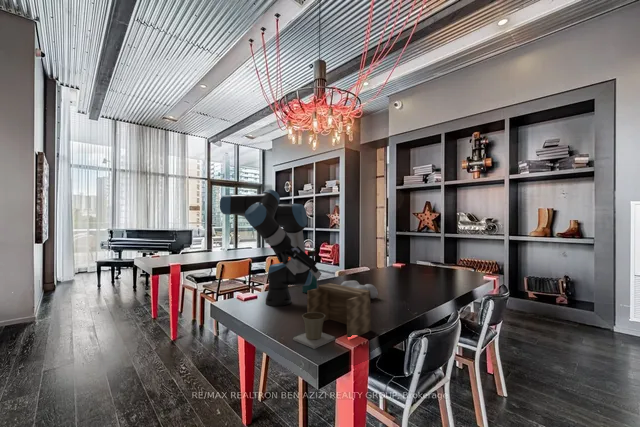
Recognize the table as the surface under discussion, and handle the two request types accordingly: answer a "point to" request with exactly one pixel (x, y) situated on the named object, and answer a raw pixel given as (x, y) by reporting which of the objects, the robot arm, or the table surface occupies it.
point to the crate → (342, 306)
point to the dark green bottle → (311, 286)
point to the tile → (316, 342)
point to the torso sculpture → (362, 287)
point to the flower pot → (313, 324)
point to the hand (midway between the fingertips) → (307, 274)
